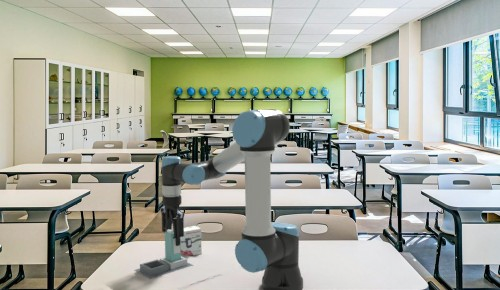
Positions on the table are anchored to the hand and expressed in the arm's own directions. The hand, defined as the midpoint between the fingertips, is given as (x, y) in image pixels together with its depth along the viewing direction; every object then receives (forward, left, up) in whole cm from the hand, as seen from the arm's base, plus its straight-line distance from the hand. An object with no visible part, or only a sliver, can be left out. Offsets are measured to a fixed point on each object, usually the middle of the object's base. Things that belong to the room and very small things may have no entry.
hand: (173, 251), depth 188 cm
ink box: (+8, -15, -7) cm, 18 cm away
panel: (0, +4, -7) cm, 8 cm away
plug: (0, 0, -4) cm, 4 cm away
